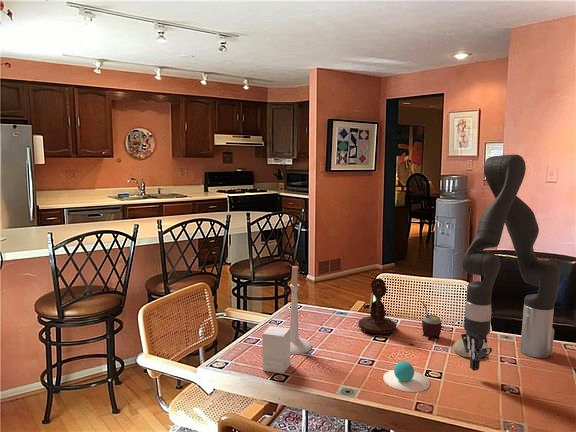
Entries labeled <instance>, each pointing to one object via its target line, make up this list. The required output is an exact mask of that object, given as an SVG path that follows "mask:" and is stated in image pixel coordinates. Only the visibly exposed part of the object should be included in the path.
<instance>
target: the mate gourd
mask: <svg viewBox="0 0 576 432" xmlns="http://www.w3.org/2000/svg"><path fill="white" fill-rule="evenodd" d="M419 302H420V303H421V304H422V305H423V307H424V310H425V313H426V315H425V316H424V317H422V320H421V321H422V322H421V328H422V329H421V330H422V336H423V337H426V338H427V340H428V341H431V339H435V340H440V336H441V333H442V332H441V331H442V326H443V324H442V320H441V318H440V317H439V316H437V315H434V314H429V313H428V310H427V305H426V304H425V303H424V302H423V301H422V300H419Z"/></svg>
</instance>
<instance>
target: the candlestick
mask: <svg viewBox="0 0 576 432" xmlns="http://www.w3.org/2000/svg"><path fill="white" fill-rule="evenodd" d="M298 269H299V267H298V266H297V265H292V267H291V283H290V284H289V287H290V290H291V302H290V304H291V305H290V314H289V315H290V316H289V328H290V355H302V354H306V353H308V352H310V351H311V350H312V343H311V342H310V341H309V340H307V339H305V338H304V337H300V336H299V334H300V333H299V308H298V291H299V287H300V284H298V282H299V281H298V280H299V279H298V277H299V276H298V275H299V273H298V271H299V270H298Z"/></svg>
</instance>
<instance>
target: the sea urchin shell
mask: <svg viewBox="0 0 576 432" xmlns="http://www.w3.org/2000/svg"><path fill="white" fill-rule="evenodd" d="M467 341H468V340H467ZM452 348H453V351H454V352H455V353H456V354H458V355H459V356H462V357H463V358H470V356H469V353H467V352H466V350H465V347H464V343H463V340H462V338H461V339H458V340H456V341H455V342H454V343H453V346H452Z"/></svg>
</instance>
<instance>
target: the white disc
mask: <svg viewBox="0 0 576 432" xmlns="http://www.w3.org/2000/svg"><path fill="white" fill-rule="evenodd" d="M383 381H384V383H385V384H386V385H387V386H389V387H390V388H392V389H394V390H397V391H400V392H407V393H418V392H423V391H425V390H428V389H429V388H430V386H431V381H430V379H429V378H428V377H427V376H425V375H424V374H422V373H420V372H418V371H415V370H414V376H413V378H412V379H411V380H410V381H408V382H402V381H400V380H398V379H397V378H396V376H395V373H394V369H391V370H389V371H387V372H385V373H384V374H383Z"/></svg>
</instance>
